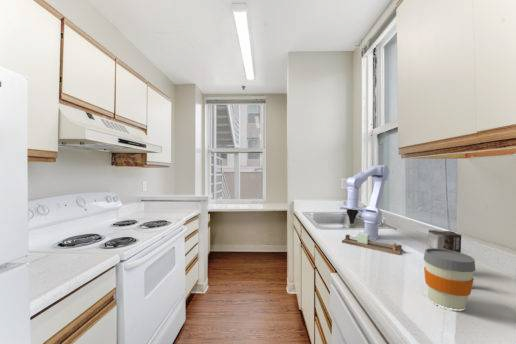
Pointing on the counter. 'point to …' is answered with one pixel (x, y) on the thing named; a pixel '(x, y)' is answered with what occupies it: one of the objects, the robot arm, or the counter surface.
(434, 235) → the coffee box
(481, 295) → the counter surface
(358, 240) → the sleeve
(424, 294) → the counter surface
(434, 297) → the reusable coffee cup
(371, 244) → the rod board
